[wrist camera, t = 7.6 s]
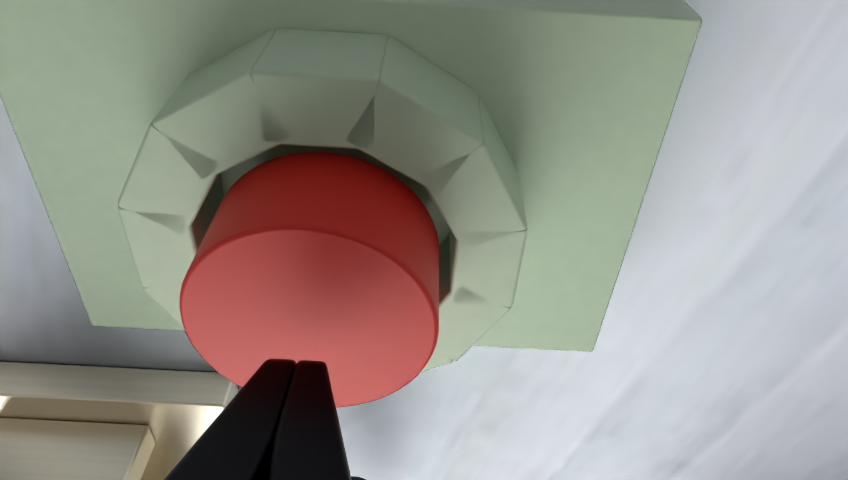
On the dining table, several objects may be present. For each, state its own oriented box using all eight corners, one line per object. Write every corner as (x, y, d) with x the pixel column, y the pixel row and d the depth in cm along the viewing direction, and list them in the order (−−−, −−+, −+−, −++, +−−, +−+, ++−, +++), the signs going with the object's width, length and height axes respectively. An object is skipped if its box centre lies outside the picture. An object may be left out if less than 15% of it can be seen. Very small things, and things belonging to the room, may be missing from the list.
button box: (673, -13, 11) (749, 62, 8) (580, 303, 16) (609, 416, 13) (8, -55, 11) (-136, 8, 8) (120, 279, 16) (53, 388, 13)
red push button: (447, 156, 10) (449, 234, 8) (432, 329, 12) (430, 415, 11) (198, 142, 10) (151, 218, 8) (232, 319, 12) (201, 403, 11)
